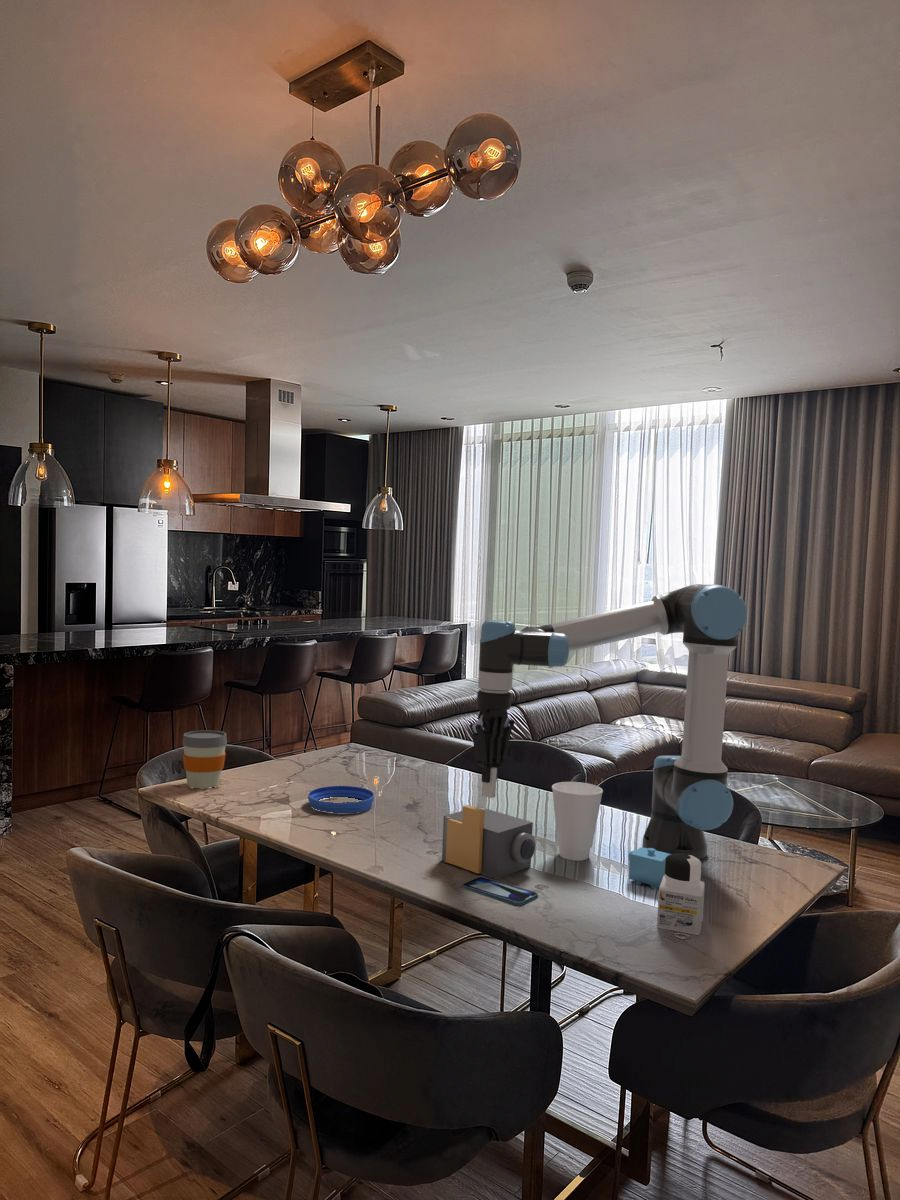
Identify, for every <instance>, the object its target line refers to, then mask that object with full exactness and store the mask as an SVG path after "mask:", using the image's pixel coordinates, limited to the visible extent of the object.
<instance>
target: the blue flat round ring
mask: <svg viewBox="0 0 900 1200" xmlns="http://www.w3.org/2000/svg"><path fill="white" fill-rule="evenodd" d="M330 797H348V798H355V799H358V800H362V801H359V802H346V803H345V802H343V803H333V802H324V801H325V800H321V801H319V800H320V799H323V798H330ZM307 799H308V802H309V807H310V806H311V807H313V808H314V809H317V810H320V811H326V812H333V813H355V814H358V813H357V812H361V813H364V812H367V811H369V810H370V809H371V808H372V807H373V802H374V800H375V793H374V792H373V791H372V790H370V789H368V788H364V787H360V786H353V785H352V786H351V785H330V786H323V787H318V788H315V789H312V790H310V791H309V792H308V795H307ZM311 807H310V808H311ZM363 811H364V812H363Z"/></svg>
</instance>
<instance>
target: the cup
mask: <svg viewBox="0 0 900 1200" xmlns="http://www.w3.org/2000/svg"><path fill="white" fill-rule="evenodd" d="M551 790H552V799H553V808H554V822H555V832H556V843H557V845H558V854H559V856H560V858H563V859H564V860H569V861H577V862H579V861H585V860H588V859H589V858H590V854H591V849H592V847H593V843H594V838H595V833H596V830H597V829H596V826H597V821H598V817H599V813H600V812H599V811H600V807H601V801H602V797H603V793H604V790H603V788H601V787H600V786H598V785H597V784H592V783H589V782H588V783H587V782H581V781H580V782H578V781H561V782H556V783H554V784H552V785H551Z"/></svg>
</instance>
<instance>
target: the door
mask: <svg viewBox="0 0 900 1200" xmlns="http://www.w3.org/2000/svg"><path fill="white" fill-rule="evenodd" d="M476 807H477V806H472V805H469V804H466V805H463V806H462V811H463V813H462V822H461V821H457V820H454V819H451V817H445V835H444V858H443V860H442V862H443V863H446V864H449V865H450V864H451V865H454V866H456V867H459V868H461V869H463V870H467V871H470V872H472V873H475V874H478V875H479V874H480V873H481V866H482V843H483V829H484V819H485V810H483V809H480V808H476Z"/></svg>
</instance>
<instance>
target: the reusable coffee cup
mask: <svg viewBox="0 0 900 1200" xmlns="http://www.w3.org/2000/svg"><path fill="white" fill-rule="evenodd" d="M227 737H228V736H227V733H226V732H224V731H220V730H210V729H209V730H208V729H206V730H192V731H187V732H184V734H183V738H182V744H181V745H182V746H183V753H182V759H183V769H184V770H185V774H186V783H187V784H186V785H188V786H189V787H193V788H209V787H215V786H218V785H219V786H220V781H221V777H222V776H221V775H222V770H223V769H224V767H225V761H226V755H227V754H226V747H227V744H228V740H227ZM188 786H187V787H188ZM219 786H218V787H219ZM189 787H188V788H189ZM193 788H192V789H193ZM215 788H216V787H215Z"/></svg>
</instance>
